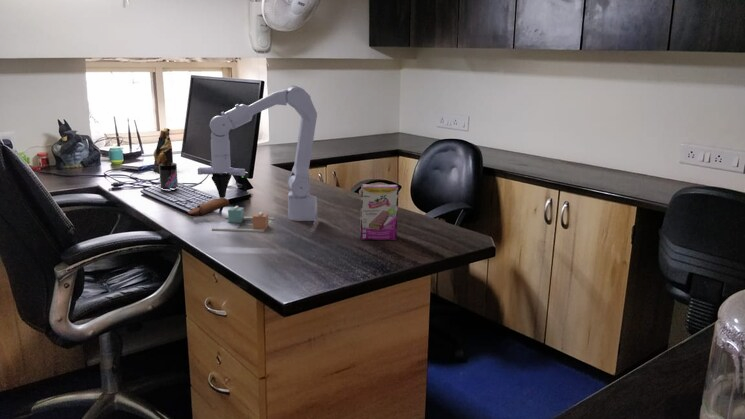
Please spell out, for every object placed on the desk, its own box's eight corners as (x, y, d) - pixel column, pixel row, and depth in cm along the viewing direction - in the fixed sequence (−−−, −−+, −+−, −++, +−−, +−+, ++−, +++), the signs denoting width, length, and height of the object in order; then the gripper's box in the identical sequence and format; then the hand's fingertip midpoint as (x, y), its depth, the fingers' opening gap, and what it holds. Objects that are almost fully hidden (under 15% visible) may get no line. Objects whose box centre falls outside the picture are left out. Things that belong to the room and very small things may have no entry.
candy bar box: (360, 240, 184) (360, 187, 180) (360, 235, 189) (360, 183, 185) (397, 240, 185) (398, 187, 181) (396, 236, 190) (397, 184, 186)
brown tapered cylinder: (209, 205, 224) (216, 190, 221) (224, 216, 223) (232, 201, 220) (179, 217, 207) (187, 201, 204) (196, 229, 206) (204, 213, 204)
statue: (151, 171, 285) (148, 128, 281) (168, 169, 290) (165, 127, 285) (160, 175, 276) (157, 130, 271) (177, 173, 281) (175, 129, 276)
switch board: (274, 223, 202) (273, 217, 201) (263, 236, 187) (263, 230, 187) (226, 221, 203) (225, 216, 202) (212, 234, 188) (211, 228, 188)
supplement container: (161, 192, 243) (159, 166, 240) (159, 188, 249) (157, 163, 246) (179, 190, 246) (177, 165, 243) (176, 187, 252) (175, 162, 249)
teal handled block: (244, 219, 200) (243, 205, 199) (240, 222, 197) (240, 208, 195) (232, 219, 201) (231, 205, 200) (228, 222, 197) (228, 208, 196)
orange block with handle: (268, 225, 194) (268, 211, 193) (265, 229, 190) (265, 214, 189) (256, 225, 194) (255, 211, 193) (253, 228, 190) (252, 214, 189)
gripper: (246, 153, 195) (248, 195, 198) (201, 152, 196) (203, 193, 199) (241, 157, 188) (242, 200, 192) (194, 155, 189) (196, 198, 192)
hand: (222, 197), depth 195 cm, fingers closed
